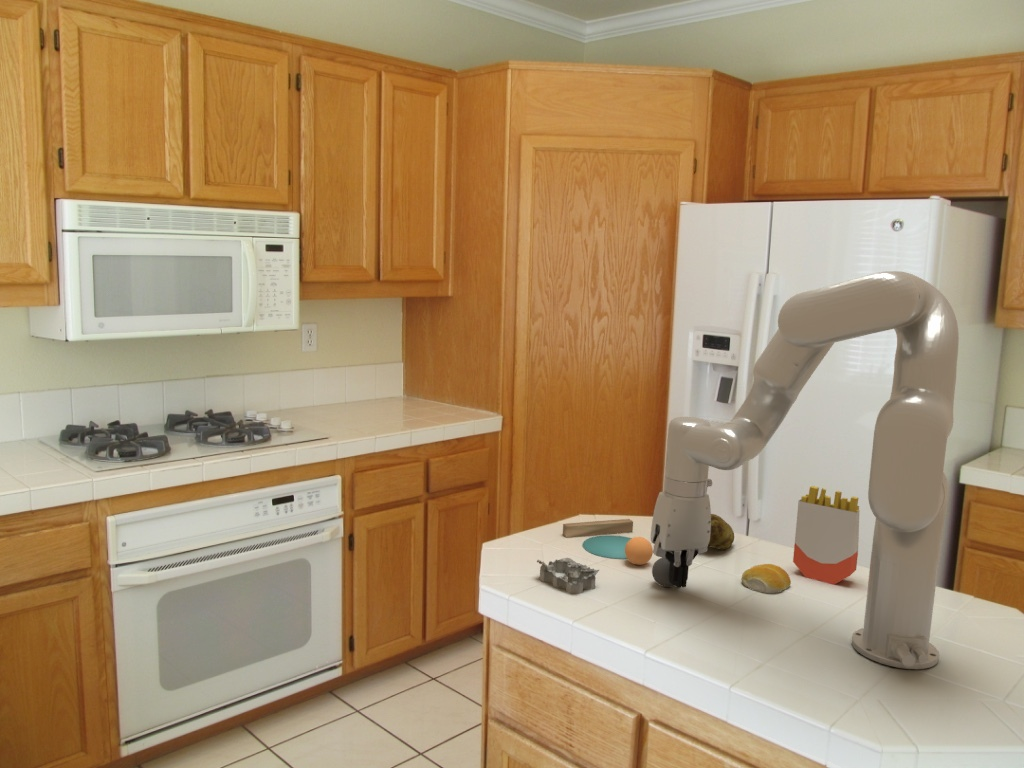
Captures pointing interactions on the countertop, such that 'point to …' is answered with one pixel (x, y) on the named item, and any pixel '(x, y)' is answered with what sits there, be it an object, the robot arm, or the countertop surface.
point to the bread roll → (766, 578)
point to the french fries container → (826, 536)
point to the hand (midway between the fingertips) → (677, 584)
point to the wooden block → (597, 528)
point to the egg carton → (568, 575)
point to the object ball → (638, 550)
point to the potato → (720, 533)
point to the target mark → (607, 546)
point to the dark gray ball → (661, 572)
